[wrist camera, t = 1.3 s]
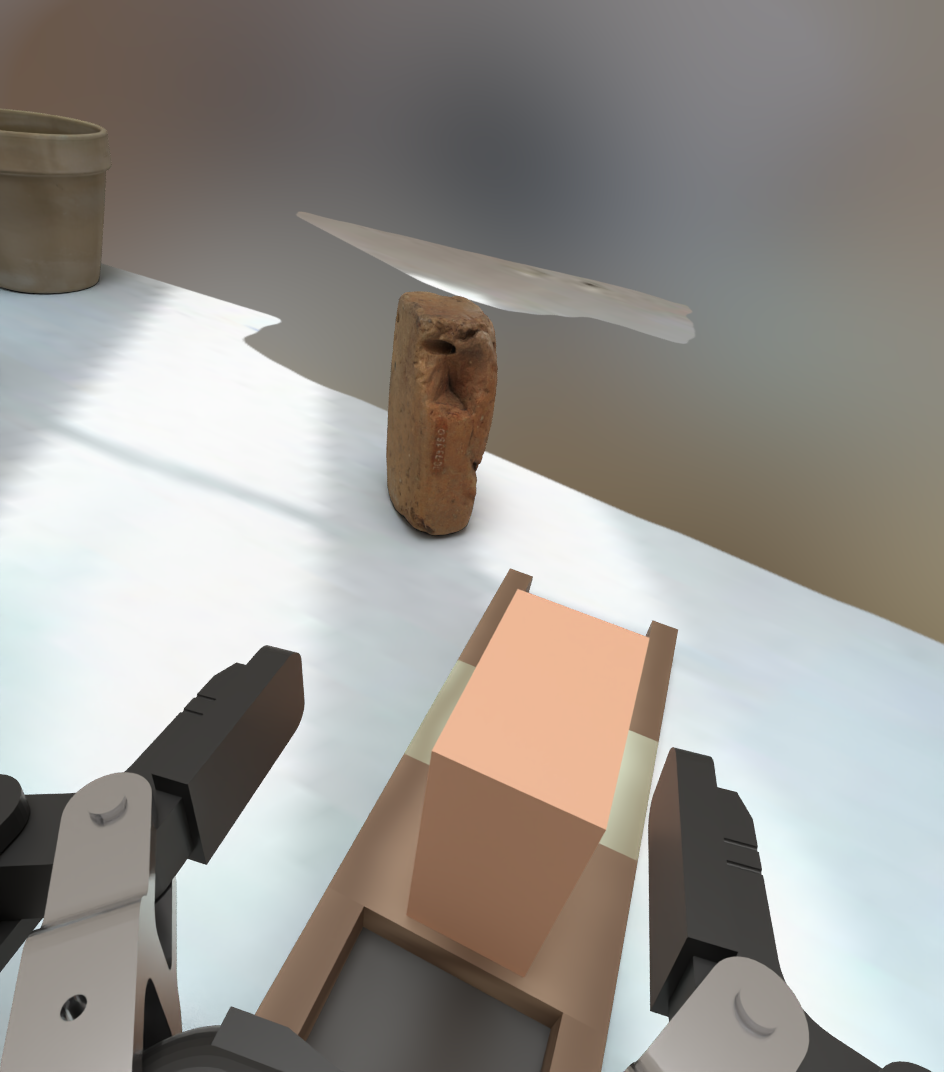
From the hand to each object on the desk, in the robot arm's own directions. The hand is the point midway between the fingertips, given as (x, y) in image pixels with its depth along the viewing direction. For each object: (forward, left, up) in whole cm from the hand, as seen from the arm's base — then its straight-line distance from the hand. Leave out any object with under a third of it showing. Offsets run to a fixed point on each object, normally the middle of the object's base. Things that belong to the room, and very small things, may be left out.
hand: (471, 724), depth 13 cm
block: (-17, +38, -24) cm, 48 cm away
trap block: (+1, +8, -21) cm, 22 cm away
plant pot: (-96, +61, -24) cm, 116 cm away
